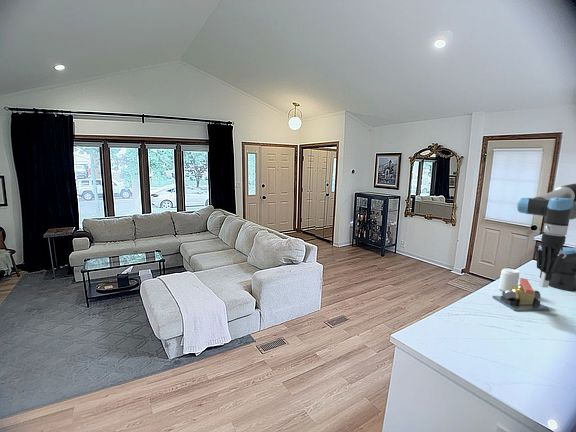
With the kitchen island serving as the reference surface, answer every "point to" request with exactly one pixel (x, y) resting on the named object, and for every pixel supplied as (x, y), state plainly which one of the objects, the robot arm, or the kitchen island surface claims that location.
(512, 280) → the beverage can
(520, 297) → the valve fixture
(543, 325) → the kitchen island surface
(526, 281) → the lever
